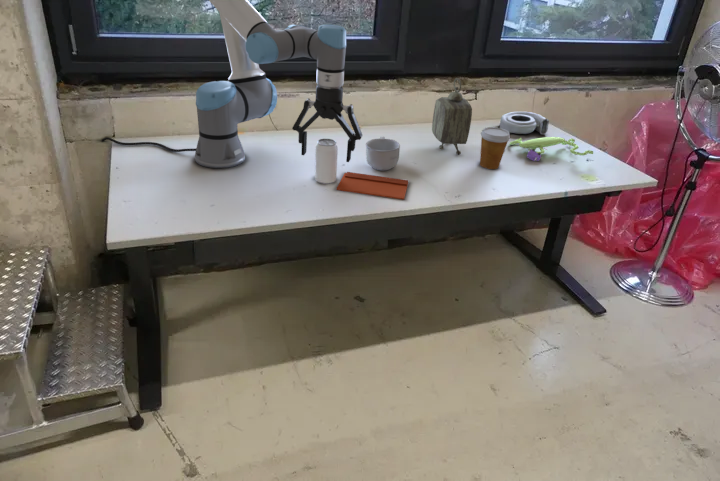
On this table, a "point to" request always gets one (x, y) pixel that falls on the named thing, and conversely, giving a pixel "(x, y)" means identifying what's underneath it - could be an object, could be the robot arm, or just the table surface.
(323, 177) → the can
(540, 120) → the turbocharger housing
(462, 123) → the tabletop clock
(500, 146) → the disposable coffee cup
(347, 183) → the orange envelope wallet
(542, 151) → the figurine
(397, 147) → the teacup
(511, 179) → the table surface
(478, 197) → the table surface
